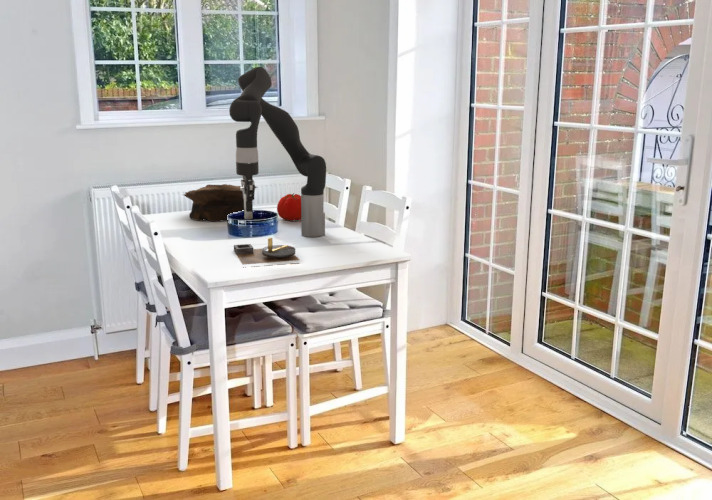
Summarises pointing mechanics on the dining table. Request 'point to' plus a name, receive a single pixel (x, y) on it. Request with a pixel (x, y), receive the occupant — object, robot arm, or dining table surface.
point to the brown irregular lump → (215, 202)
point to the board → (257, 255)
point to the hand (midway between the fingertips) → (248, 210)
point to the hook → (246, 214)
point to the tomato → (290, 207)
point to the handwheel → (277, 250)
